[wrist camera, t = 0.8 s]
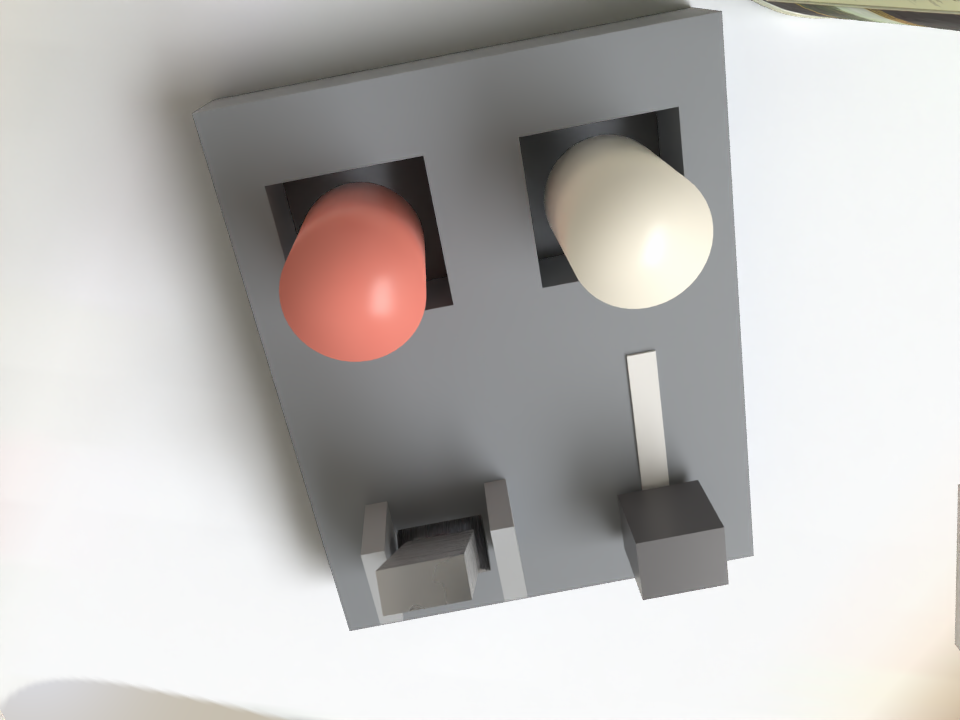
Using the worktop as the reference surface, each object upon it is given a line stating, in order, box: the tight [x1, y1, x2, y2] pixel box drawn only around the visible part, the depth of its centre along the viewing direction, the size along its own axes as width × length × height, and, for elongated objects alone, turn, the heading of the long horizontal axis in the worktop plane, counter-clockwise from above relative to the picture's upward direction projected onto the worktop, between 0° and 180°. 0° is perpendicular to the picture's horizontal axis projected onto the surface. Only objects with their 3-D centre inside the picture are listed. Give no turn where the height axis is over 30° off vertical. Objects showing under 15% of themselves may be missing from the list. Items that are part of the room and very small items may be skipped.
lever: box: [375, 514, 491, 616], centre depth 28 cm, size 2×3×9 cm, turn 101°
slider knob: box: [617, 480, 728, 600], centre depth 31 cm, size 2×3×3 cm
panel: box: [192, 7, 754, 631], centre depth 30 cm, size 20×16×6 cm
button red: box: [279, 182, 426, 362], centre depth 26 cm, size 4×4×5 cm
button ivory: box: [544, 134, 713, 309], centre depth 26 cm, size 4×4×5 cm
